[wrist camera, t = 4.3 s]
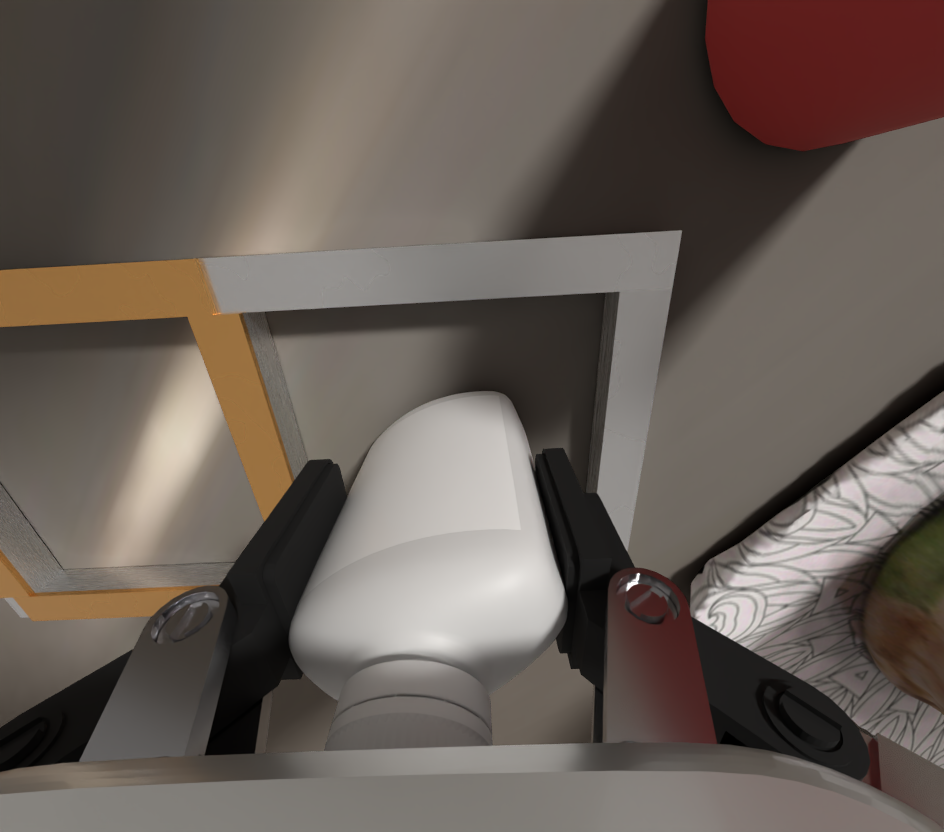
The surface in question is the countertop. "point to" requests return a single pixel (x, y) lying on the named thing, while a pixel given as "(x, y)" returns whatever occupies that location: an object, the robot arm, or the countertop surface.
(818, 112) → the beer can
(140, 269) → the rail
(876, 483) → the cookie jar
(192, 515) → the countertop surface
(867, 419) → the countertop surface
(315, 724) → the countertop surface
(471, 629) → the eye dropper bottle
